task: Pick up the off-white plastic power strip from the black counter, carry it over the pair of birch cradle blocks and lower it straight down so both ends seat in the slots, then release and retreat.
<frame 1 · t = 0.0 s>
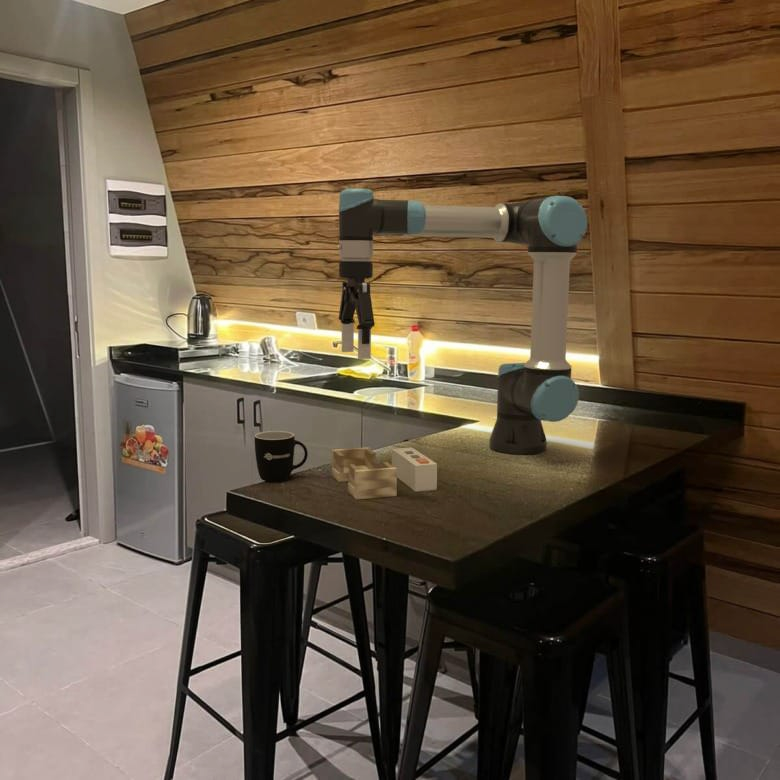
hand: (355, 355, 181), 28 cm above the countertop, fingers open, 13 cm apart
cradle: (362, 485, 177), on the countertop
mug: (281, 478, 182), on the countertop
power strip: (413, 481, 181), on the countertop
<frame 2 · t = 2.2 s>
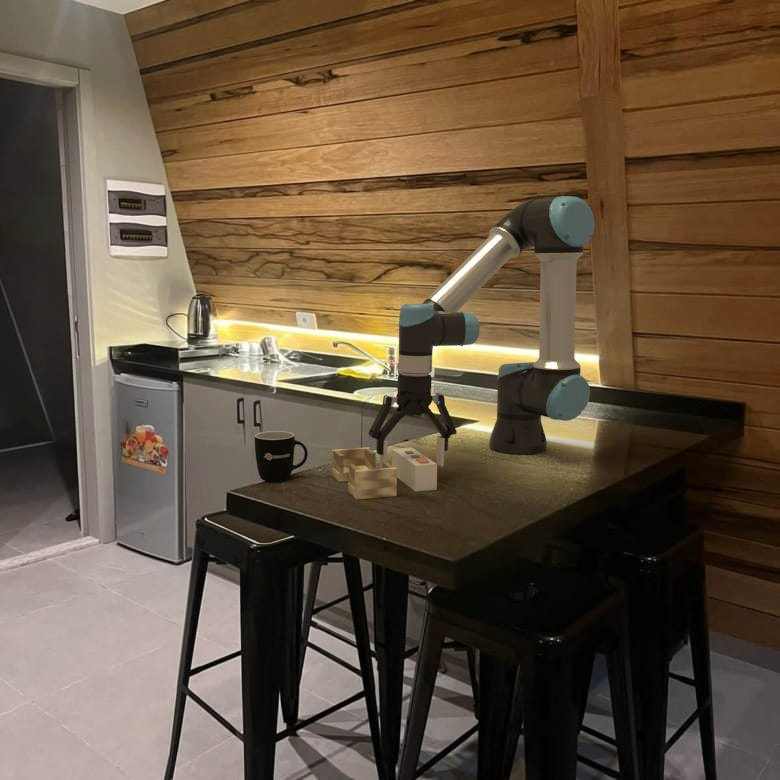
hand: (412, 466, 180), 3 cm above the countertop, fingers open, 13 cm apart
nothing on the countertop moved.
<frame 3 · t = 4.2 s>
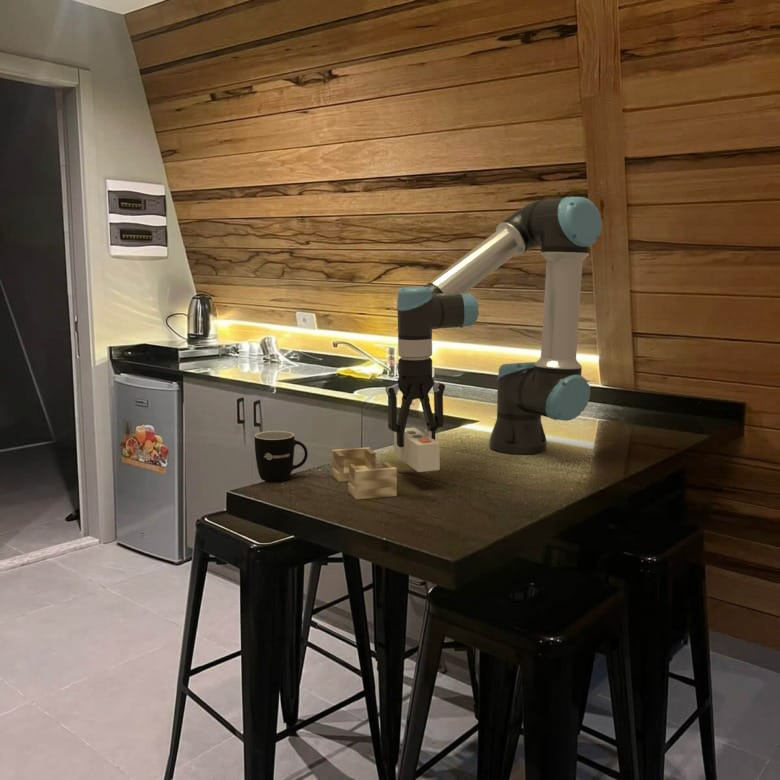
hand: (416, 459, 180), 5 cm above the countertop, fingers closed on power strip, 5 cm apart
power strip: (416, 461, 181), point 4 cm above the countertop, touching gripper
everything else where it was.
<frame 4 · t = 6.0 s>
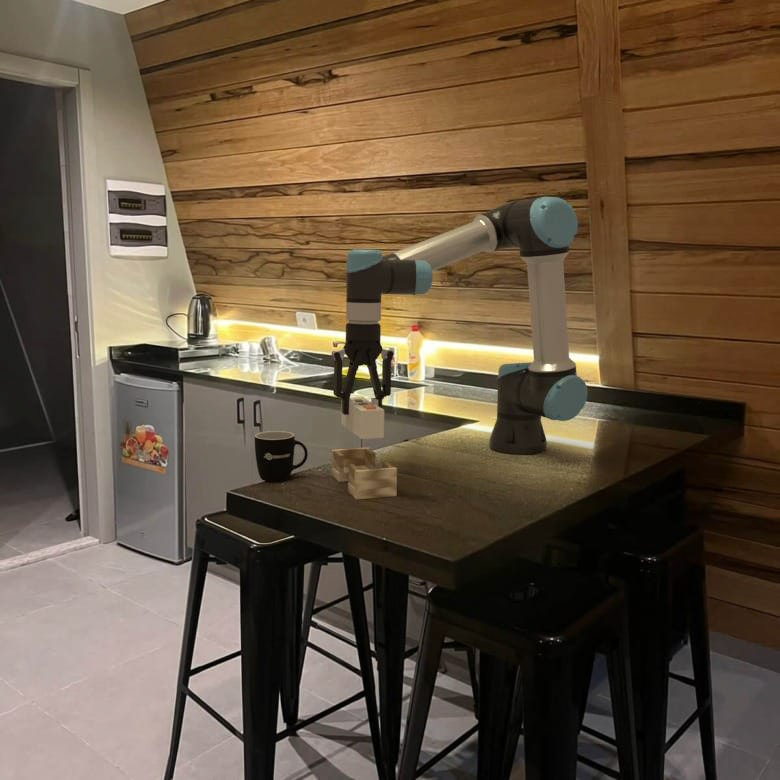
hand: (361, 428, 175), 13 cm above the countertop, fingers closed on power strip, 5 cm apart
power strip: (361, 430, 175), point 12 cm above the countertop, touching gripper
everything else where it was.
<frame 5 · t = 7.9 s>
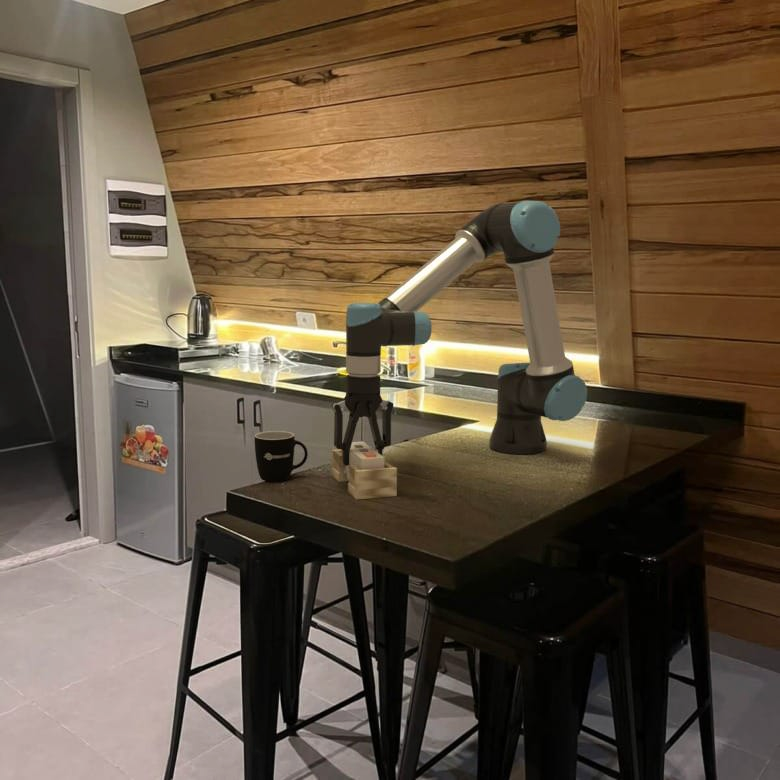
hand: (362, 478, 177), 2 cm above the countertop, fingers closed on power strip, 5 cm apart
power strip: (362, 476, 177), point 2 cm above the countertop, touching cradle, gripper
everything else where it was.
when the fingers open (2 cm above the countertop, at t = 8.1 s): power strip stays where it is, resting on cradle.
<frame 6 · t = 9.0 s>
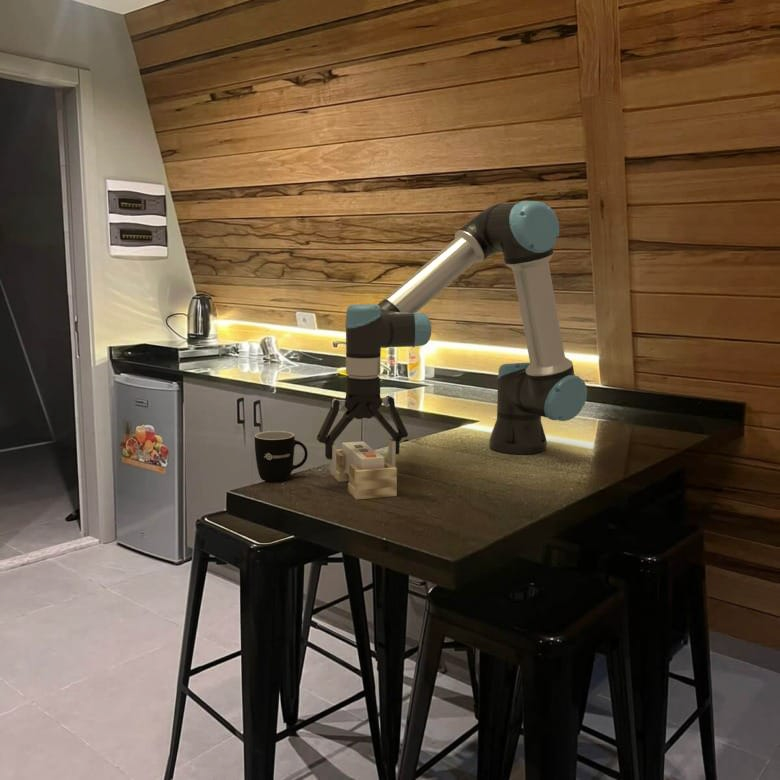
hand: (362, 471, 176), 3 cm above the countertop, fingers open, 13 cm apart
power strip: (362, 476, 177), point 2 cm above the countertop, touching cradle
everything else where it was.
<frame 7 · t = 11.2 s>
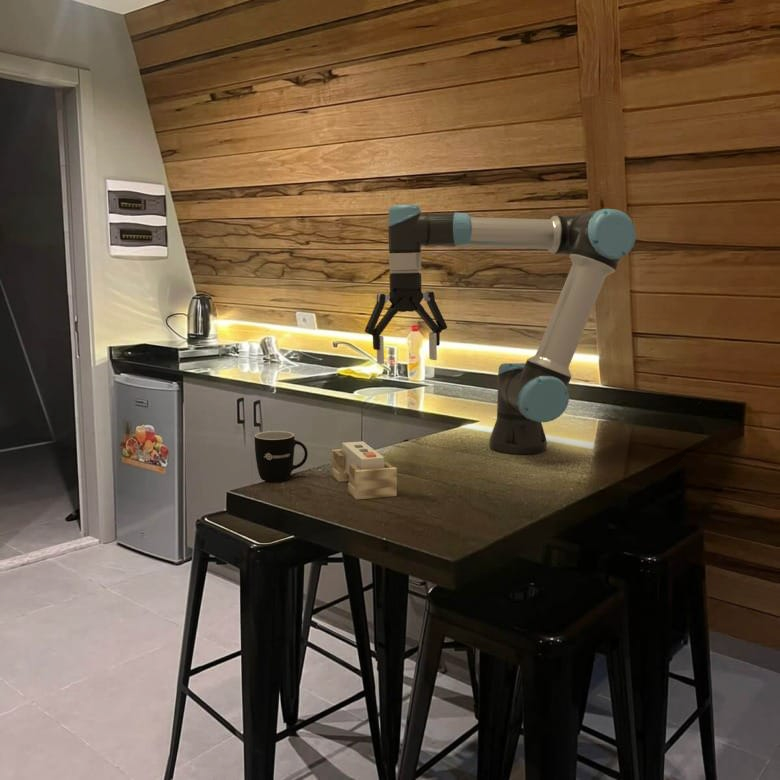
hand: (407, 361, 191), 25 cm above the countertop, fingers open, 13 cm apart
nothing on the countertop moved.
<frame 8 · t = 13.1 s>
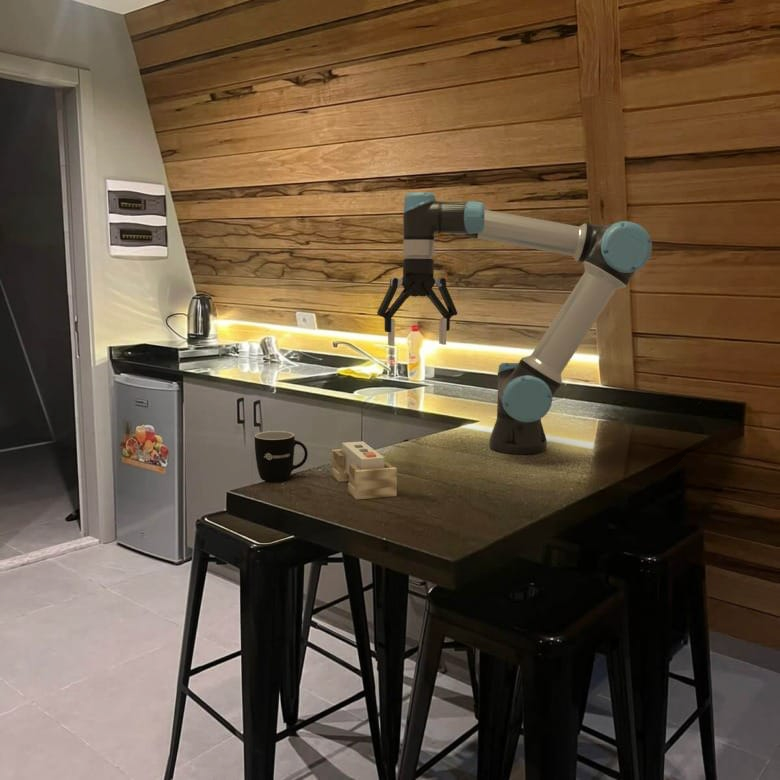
hand: (417, 344, 197), 29 cm above the countertop, fingers open, 13 cm apart
nothing on the countertop moved.
at the end: power strip 0.1 cm off-centre on the cradle, point 2.0 cm above the cradle's base; power strip tilted 0°; the gripper is holding nothing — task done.
